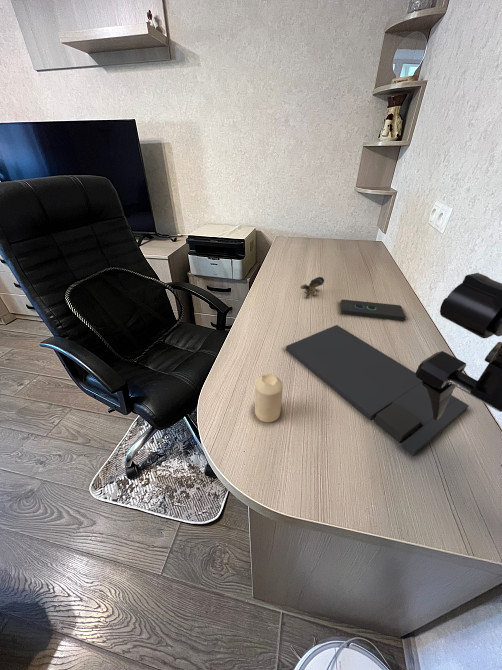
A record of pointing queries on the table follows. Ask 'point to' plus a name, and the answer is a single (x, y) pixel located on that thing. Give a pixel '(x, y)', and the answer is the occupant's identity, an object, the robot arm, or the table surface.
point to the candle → (268, 397)
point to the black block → (397, 421)
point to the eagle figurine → (312, 286)
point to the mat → (372, 381)
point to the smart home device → (372, 310)
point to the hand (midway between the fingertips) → (467, 440)
